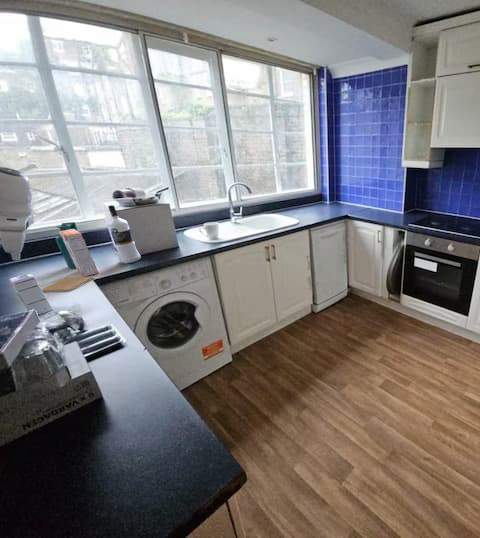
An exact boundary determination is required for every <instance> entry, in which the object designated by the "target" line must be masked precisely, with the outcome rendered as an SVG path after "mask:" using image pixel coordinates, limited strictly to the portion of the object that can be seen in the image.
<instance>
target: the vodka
mask: <svg viewBox="0 0 480 538" xmlns="http://www.w3.org/2000/svg"><path fill="white" fill-rule="evenodd" d="M107 208H108V210H109V213H110V215H111V219H110V220H109V221H108V222H107V228H108V230H109V232H110V234H111V238H112V240H113V242H114V246H115V248H116V250H117V254H118V257H119V258H118V260H119V262H120V263H121V264H133V263H136V262H138V261H140V260H141V259H142V256H141V254H140V253H139V251H138V248H137V246H136V241H134V237H133V235H132V232H131V229H130V226H129V223H128V221H127V220H126V219H123V218H120V216H119V215H118V211H117V209H116V207H115V205H114V204H113V205H111V204H110V205H108V206H107Z"/></svg>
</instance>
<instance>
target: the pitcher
mask: <svg viewBox="0 0 480 538" xmlns="http://www.w3.org/2000/svg"><path fill="white" fill-rule="evenodd" d="M56 229H59V230H60V231H64V230H70V229H75V230H77V231H78V228H77V224H76V222H75V221H72V222H62V223H61V224H60V225H57V226H56ZM55 242H56V244H57V246H58V248H59V250H60V253H61V255H62V257H63V260H64V261H65V264H66V265H67V268H68V269H70V270H71V269H72V270H73V269H77V268H76V266H75V264H74V262H73V260H72V258H71V256H70V254H69V251H68V249H67V247H66V245H65V243H64V241H63V239H62V237H61V235H60V234H59V235H58V236H56V237H55Z"/></svg>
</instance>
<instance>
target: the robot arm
mask: <svg viewBox="0 0 480 538" xmlns="http://www.w3.org/2000/svg"><path fill="white" fill-rule="evenodd" d="M32 200H33V193H32V187H31V182H30V180H29V177H28V176H27V175H26V174H24V173H23V172H21V171H19V170H16V169H13V168H9V167H3V166H0V240H1V241H0V242H1V244H2V248H3V250H4V252H5V253H8V254H10V256H11V260H12V261H20V260H21V253H22V250H23V249H24V248H25V245H24V244H25V242H26V238H27V235H28V229H29V228H30V226H31V225H33V224H35V217H34V208H33V205H32Z"/></svg>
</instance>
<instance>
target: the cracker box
mask: <svg viewBox="0 0 480 538" xmlns="http://www.w3.org/2000/svg"><path fill="white" fill-rule="evenodd" d="M58 233H59V235H61V237H62V239H63V241H64V243H65V245H66V247H67V249H68V251H69V254H70V256H71V258H72V260H73V262H74V264H75V266H76V268H75V269H76V270H77V271H78V273H80V275H82V277H86V276H87V277H90V276H93V274H94V275H97V274H99V271H98V268H97V266H96V263H95V262H94V259H93V257H92V255H91V252H90V250H89V248H88V246H87V244H86V241H85V238H84V236H83V234H82V233H81V232H80V231H78V229H77V230H75V229H70V230H64V231H61V230H60V231H59V232H58ZM89 275H90V276H89Z"/></svg>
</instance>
